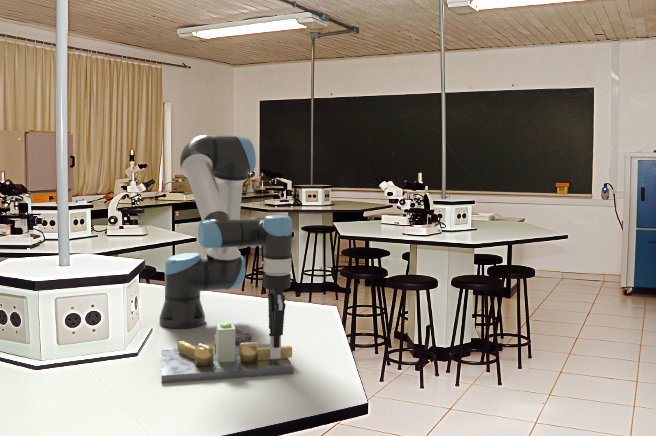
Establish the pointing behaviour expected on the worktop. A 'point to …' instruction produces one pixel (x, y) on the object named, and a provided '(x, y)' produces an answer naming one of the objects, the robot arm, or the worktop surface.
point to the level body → (225, 342)
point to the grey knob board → (219, 367)
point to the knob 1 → (197, 352)
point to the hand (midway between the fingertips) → (275, 357)
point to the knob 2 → (260, 352)
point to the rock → (240, 337)
